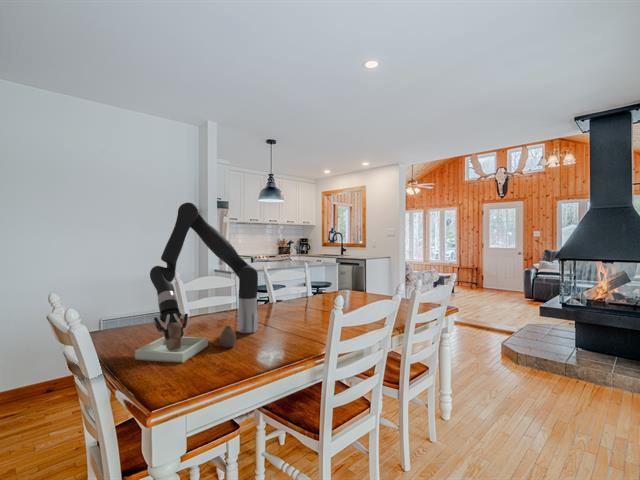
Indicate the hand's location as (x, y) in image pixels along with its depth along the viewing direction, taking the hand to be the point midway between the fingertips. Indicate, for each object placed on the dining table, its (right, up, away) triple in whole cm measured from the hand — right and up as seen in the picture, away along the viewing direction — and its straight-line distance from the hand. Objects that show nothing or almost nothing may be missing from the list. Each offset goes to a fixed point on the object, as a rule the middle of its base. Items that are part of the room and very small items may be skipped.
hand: (174, 337), depth 137 cm
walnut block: (-1, -5, +2) cm, 5 cm away
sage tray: (-1, -6, +2) cm, 7 cm away
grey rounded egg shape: (+19, -7, +10) cm, 23 cm away
